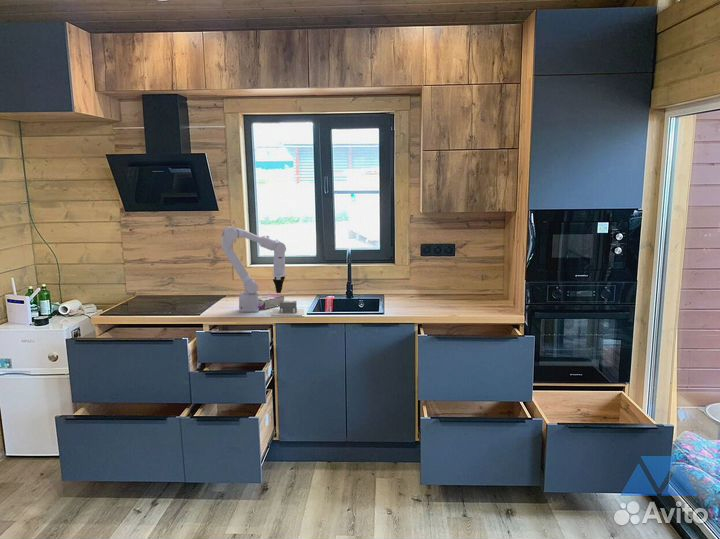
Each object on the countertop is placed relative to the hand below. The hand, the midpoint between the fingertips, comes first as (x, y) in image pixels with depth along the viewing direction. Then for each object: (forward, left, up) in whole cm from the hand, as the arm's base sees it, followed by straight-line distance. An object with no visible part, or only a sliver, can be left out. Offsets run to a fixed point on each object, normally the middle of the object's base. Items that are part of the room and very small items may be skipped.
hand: (279, 291), depth 279 cm
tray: (+5, -9, -9) cm, 14 cm away
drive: (+5, -9, -8) cm, 13 cm away
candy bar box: (-2, +16, -7) cm, 17 cm away
